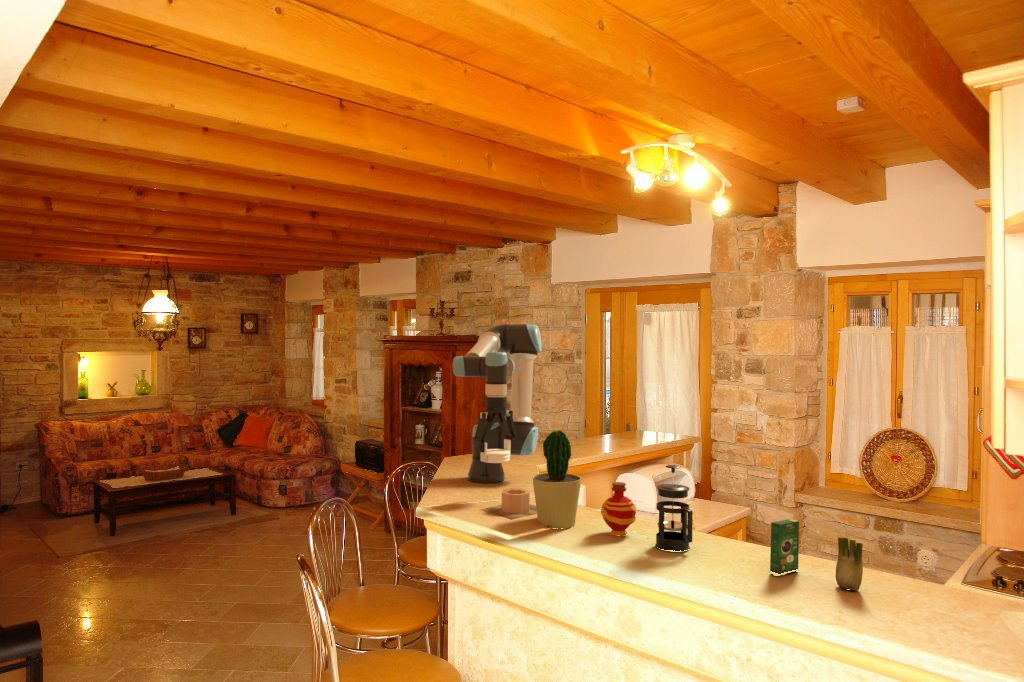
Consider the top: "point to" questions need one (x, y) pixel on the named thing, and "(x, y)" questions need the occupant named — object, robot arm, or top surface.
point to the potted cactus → (557, 484)
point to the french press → (671, 538)
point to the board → (498, 511)
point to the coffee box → (784, 546)
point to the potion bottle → (618, 510)
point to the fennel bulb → (849, 564)
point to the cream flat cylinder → (497, 456)
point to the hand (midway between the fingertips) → (495, 459)
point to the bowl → (515, 500)
